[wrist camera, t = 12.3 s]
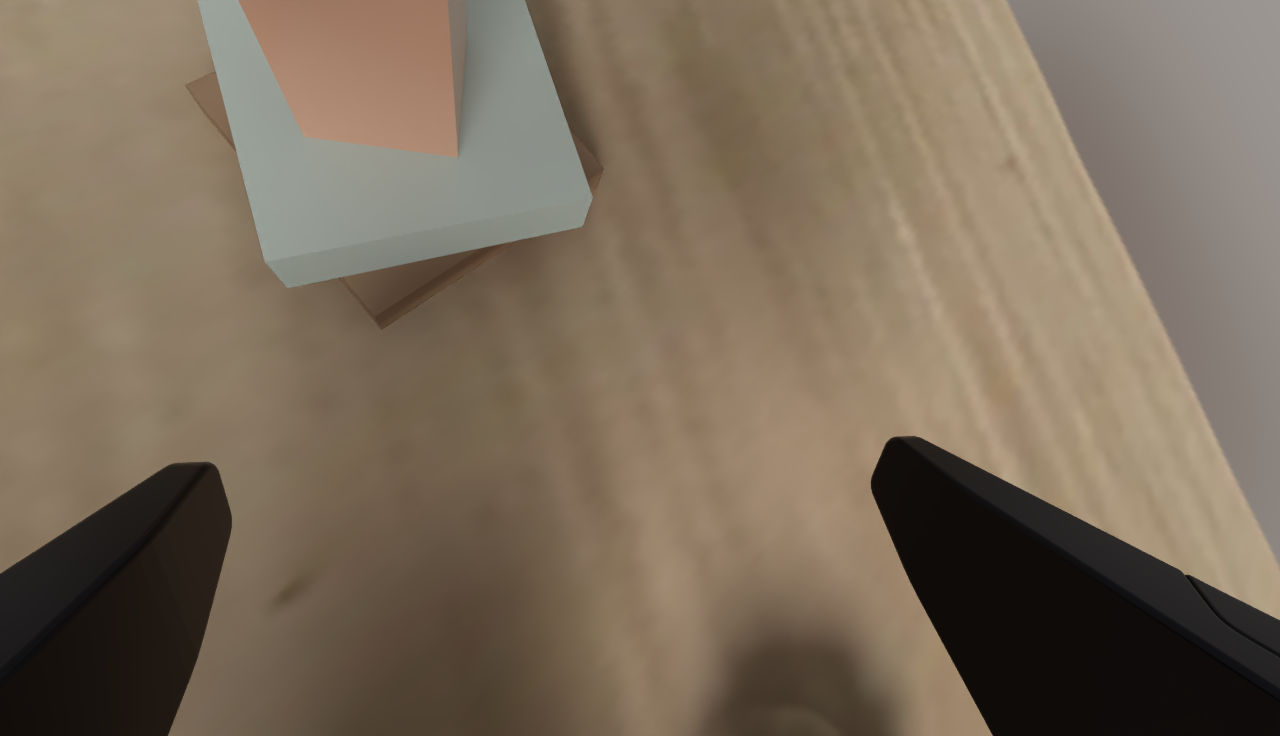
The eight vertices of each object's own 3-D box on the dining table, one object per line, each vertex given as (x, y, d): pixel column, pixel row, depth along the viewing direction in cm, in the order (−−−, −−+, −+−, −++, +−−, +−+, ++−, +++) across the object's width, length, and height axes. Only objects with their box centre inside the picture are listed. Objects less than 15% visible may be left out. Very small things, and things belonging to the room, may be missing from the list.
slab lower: (593, 196, 25) (603, 168, 23) (384, 335, 22) (374, 316, 20) (441, 15, 26) (438, -29, 24) (212, 125, 22) (184, 85, 20)
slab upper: (582, 226, 23) (592, 197, 20) (287, 288, 19) (264, 262, 17) (504, -5, 24) (506, -54, 22) (217, 19, 21) (188, -35, 19)
